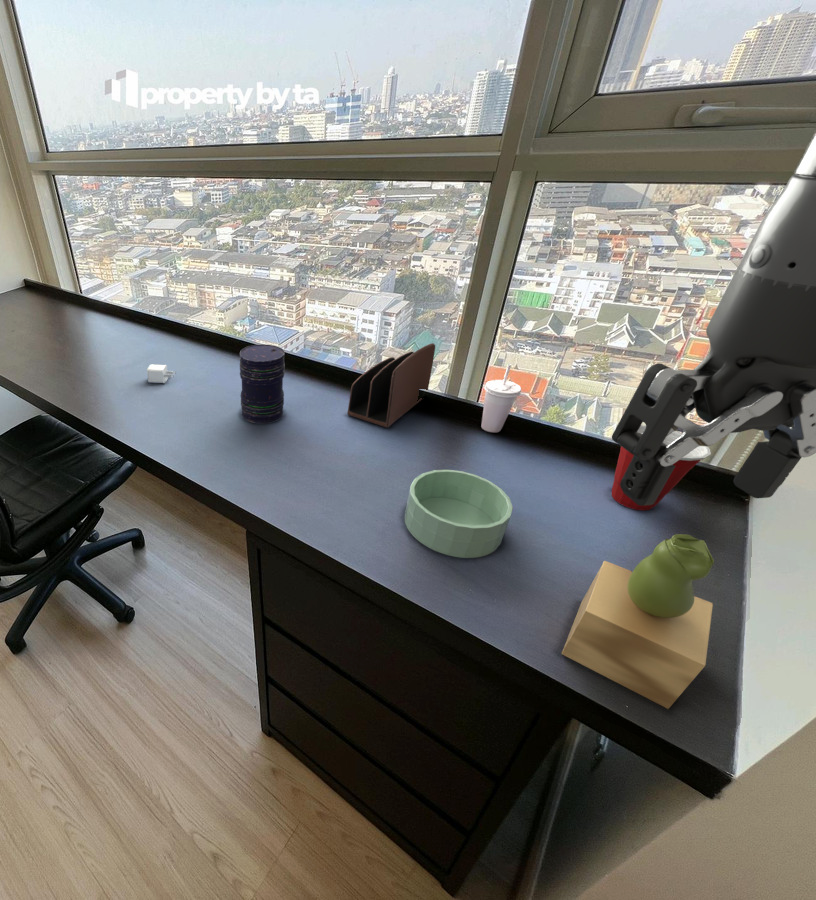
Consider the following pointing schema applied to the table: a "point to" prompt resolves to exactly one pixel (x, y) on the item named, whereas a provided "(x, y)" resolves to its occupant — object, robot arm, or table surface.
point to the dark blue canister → (262, 383)
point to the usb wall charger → (158, 373)
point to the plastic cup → (676, 475)
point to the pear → (670, 576)
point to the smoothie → (498, 402)
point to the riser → (638, 639)
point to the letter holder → (391, 387)
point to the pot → (457, 513)
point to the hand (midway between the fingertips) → (692, 495)
